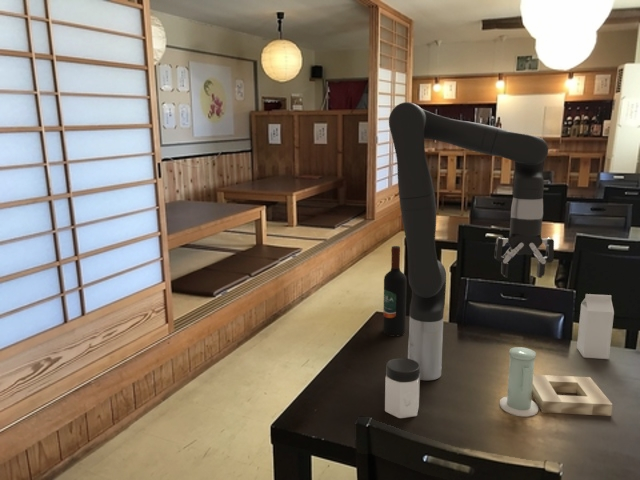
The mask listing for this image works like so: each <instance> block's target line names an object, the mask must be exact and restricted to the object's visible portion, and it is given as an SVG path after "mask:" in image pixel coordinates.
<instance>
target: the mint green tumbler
mask: <svg viewBox="0 0 640 480" xmlns="http://www.w3.org/2000/svg"><path fill="white" fill-rule="evenodd" d="M508 353H509V363H508V364H509V366H508V378H507V383H508V384H507V395H506V396H507V405H508V406H510V407H511V408H513V409H516V410H528V409H530V407H531V400H532V397H533V395H532V384H533V375H534V370H535V359H536V355H537V353H536V351H534V350H532V349H530V348H527V347H524V346H523V347H521V346H520V347H519V346H517V347H512V348H510V349H509V352H508Z"/></svg>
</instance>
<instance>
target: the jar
mask: <svg viewBox="0 0 640 480" xmlns="http://www.w3.org/2000/svg"><path fill="white" fill-rule="evenodd" d="M385 367H386V368H385V370H386V371H385V374H386V375H385V381H384V382H385V383H384V385H385V387H384V388H385V389H384V390H385V391H384V411H385V413H388V414H390V415H391V416H394V417H396V418H398V419H406V418H412V417H417V416H418V411H419V408H420V382H421V380H420V365H419V364H418V363H417V362H416V361H414V360H411V359H408V357H407V358H405V357H396V358H395V357H394V358H391V359H390V360H388V361H387V362H386V366H385Z"/></svg>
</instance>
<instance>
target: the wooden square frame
mask: <svg viewBox="0 0 640 480" xmlns="http://www.w3.org/2000/svg"><path fill="white" fill-rule="evenodd" d="M557 393H568V394H570V393H571V394H577V395H568V394H567V395H565V394H563V395H562V394H557ZM532 397H533V398H534V400H535V401H534V402H535V403H536V404H537V405H538V409H540V411H541V413H550V414H567V415H569V414H571V415H590V416H591V415H592V416H607V417H611V416H612V413H613V403H612V401H610V399H609V398H608V397H607V396H606V394H605V393H604V392H603V391H602V390H601V389H600V387H599V386H598V384H597V383H596V382H595V381H594V380H593V379H592V378H591V376H573V375H572V376H570V375H552V374H551V375H548V374H547V375H546V374H533V384H532Z"/></svg>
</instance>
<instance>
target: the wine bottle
mask: <svg viewBox="0 0 640 480" xmlns="http://www.w3.org/2000/svg"><path fill="white" fill-rule="evenodd" d="M400 259H401V246H398V245H393V246H391V259H390V261H391V262H390V263H391V268H390V270H389V271H388V272H387V273H386V274H385V275H384V277H383V314H382V315H383V319H382V321H383V323H382V327H383V328H382V329H383V330H382V331H383V334H384V333H386V334H388V335H387V336H389V335H394V336H393V337H398V336H397V335H402V336H404V335H405V334H406V319H407V317H406V315H407V313H406V312H407V279H408V278H407V275H405V274H404V272H403V271H401V269H400V268H401V267H400V266H401V265H400V264H401V263H400V261H401V260H400ZM404 333H405V334H404ZM386 334H385V335H386ZM403 334H404V335H403Z"/></svg>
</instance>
